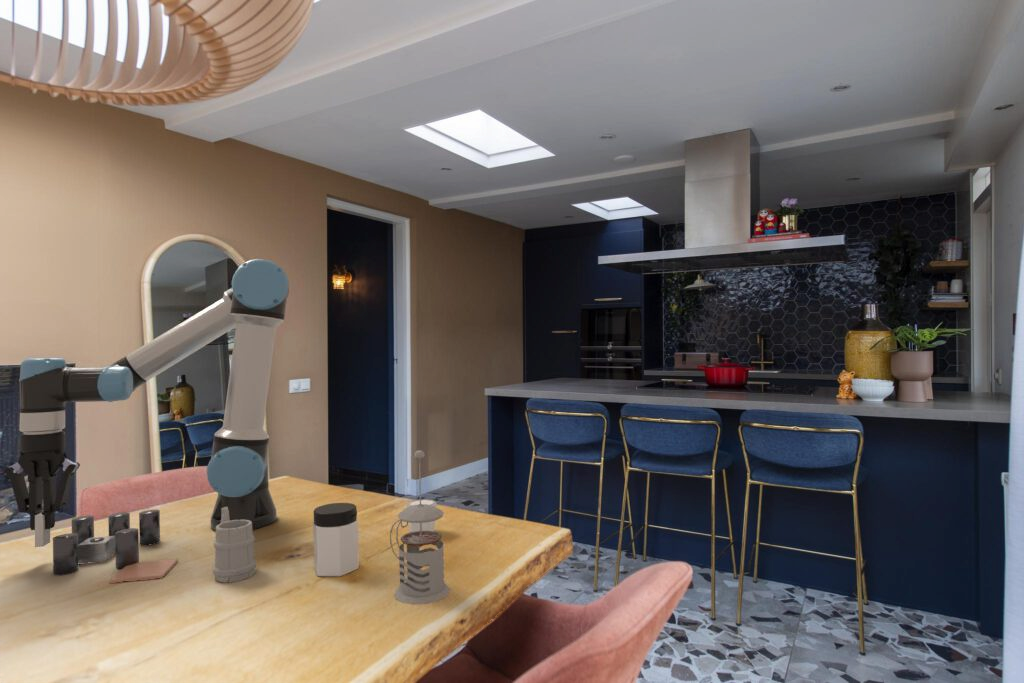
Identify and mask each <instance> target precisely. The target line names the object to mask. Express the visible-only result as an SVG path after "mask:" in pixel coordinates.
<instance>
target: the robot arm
mask: <svg viewBox="0 0 1024 683" xmlns="http://www.w3.org/2000/svg"><path fill="white" fill-rule="evenodd" d="M231 279H232V280H231V287H230V288H228V289H227V290H225V291H224V292H223V296H222V298H220V299H218V300H217V301H215V302H214V303H212V304H211V305H209V306H207V307H205V308H204V309H202V310H200V311H199V312H197V313H195V314H193V315H192V316H191V317H189V318H187V319H185V320H184V321H183V322H180V323H179V324H177V325H176V326H174V327H172V328H171V329H169V330H166V331H165V332H163V333H162V334H160V335H159V336H157V337H155V338H154V339H152V340H150V341H148V342H147V343H146V344H144V345H141V347H138V348H137V349H135V350H133V351H132V352H130V353H129V354H127V355H126V356H124V357H121V358H120V359H118V360H117V361H115V362H113V363H112V364H110V365H107V366H105V365H102V366H80V367H79V366H78V367H77V366H75V367H74V366H67V363H66V360H65V359H64V358H63V357H62V358H61V357H59V358H58V357H49V358H48V357H47V358H45V357H44V358H43V357H41V358H39V357H37V358H36V357H35V358H26V359H24V360H23V361H22V362H21V363H20V371H19V380H18V382H19V428H18V429H19V431H20V432H21V434H20V435H19V452H20V453H19V456H18V458H17V462H15V463H14V464H12V465H9V466H8V467H4V469H3V470H4V473H5V474H6V476H7V477H8V478H9V480H10V484H11V488H12V491H13V494H14V497H15V501H16V505H17V508H18V511H19V513H24V514H25V513H26V514H28V515H29V520H30V521H29V528H30V530H31V531H34V548H43V547H45V546H47V545H49V544H50V543H51V529H52V528H54V527H55V526H56V512H57V511H59V510H62V509H64V508H65V507H66V506H67V503H68V499H69V495H70V491H71V487H72V484H73V480H74V477H75V473H76V472H77V471H78V469H79V468H80V466H81V464H80V463H79V462H73V461H71V460H70V459H68V455H67V454H66V453H67V452H66V432H65V431H64V430H63V429H65V428H66V403H80V402H81V403H84V402H85V403H86V402H87V403H89V402H90V403H91V402H93V403H97V402H108V403H114V402H118V401H120V402H121V401H127V400H129V399H130V397H131V396H132V394H133V392H135V391H136V389H137V388H139V387H140V386H142V385H143V384H146V383H147V382H149V381H150V380H151V379H153V378H155V377H156V376H158V375H160V374H161V373H163V372H164V371H166V370H168V369H169V368H171V367H173V366H174V365H176V364H178V363H179V362H181V361H182V360H184V359H186V358H187V357H189V356H190V355H192V354H194V353H196V352H197V351H198V350H201V349H202V348H204V347H205V346H206V345H209V344H210V343H212V342H213V341H215V340H216V339H218V338H219V337H221V336H223V335H225V334H226V333H228V332H229V331H231V330H233V329H234V328H235V332H234V340H233V346H232V347H233V348H232V354H231V361H230V370H229V376H228V383H227V384H228V386H227V393H226V400H225V407H224V415H223V421H222V422H223V424H222V426H221V428H219V429H218V430H217V431H216V432H215V433H214V435H213V442H212V448H211V449H212V450H211V457H210V459H209V461H208V464H207V466H206V477H207V482H208V483H209V485H210V487H211V488H212V489H213V491H215V492H216V493H217V499H216V502H215V503H214V506H213V510H212V512H211V515H210V529H211V530H213V531H215V532H216V526H217V525H219V524H220V522H221V514H222V512H221V508H224V507H228V510H229V518H230V521H232V520H250V521H251V522H252V530H255V529H259V528H263V527H266V526H268V525H271V524H273V523H274V522H276V521H277V517H278V516H277V508H276V505H275V503H274V500H273V497H272V495H271V492H270V489H269V488H270V487H269V485H270V484H269V443H270V442H269V441H270V436H269V434H268V433H267V432H266V431H265V429H264V425H265V417H266V410H267V402H268V394H269V386H270V380H271V372H272V363H273V354H274V347H275V340H276V331H277V328H278V327H279V326H280V325H281V324H283V323H284V322H285V314H286V307H287V300H288V296H289V292H290V290H289V288H290V284H289V283H290V282H289V277H288V275H287V274H286V271H285V270H284V269H283V268H282V267H281V266H280V265H278V264H277V263H276V262H275V263H274V262H273V261H271V260H268V259H262V258H256V259H255V258H254V259H250V260H247V261H246V262H244V263H242V264H240V265H239V266H238V268H237V269H236V270H235V272H234V274H233V276H232V278H231ZM61 468H62V471H63V473H62V475H61V478H60V482H59V486H58V489H57V479H58V472H60V469H61ZM23 471H24V472H25V473H26V475H27V482H28V486H27V483H26V479H25V476H24V473H23Z"/></svg>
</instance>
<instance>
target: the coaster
mask: <svg viewBox="0 0 1024 683" xmlns="http://www.w3.org/2000/svg"><path fill="white" fill-rule="evenodd" d="M177 563H179V560H178V558H173V559H172V558H171V559H162V560H151V561H139V563H135V564H132V565H128V566H126V567H124V568H123V569H120V571H119V572H118V573H115V575H114V576H113V577H112V578H110V579H109V584H117V583H116V582H120V583H124V582H123V581H130V582H138V581H137V580H140V581H146V580H147V581H148V579H150V580H156V579H155V578H160V579H163V578H164V577H165V576H166V575H167V574H168V573H169V572H170V571H171V570H172V569H173V568H174V566H175V565H176V564H177ZM169 570H170V571H169ZM168 571H169V572H168ZM166 573H167V574H166ZM165 574H166V575H165ZM163 576H164V577H163Z"/></svg>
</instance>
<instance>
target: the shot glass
mask: <svg viewBox="0 0 1024 683" xmlns="http://www.w3.org/2000/svg"><path fill="white" fill-rule="evenodd" d="M418 504H420V499H416V500H411V501H409V502H407V503H406V508H408V507H411V506H413V505H418ZM421 504H427V505H431V506H435V507H436V508H437V501H436V500H433V499H421ZM408 526H409V533H410V532H415V531H420V523H410V522H408ZM435 527H436V520H435V521H432V522H426V523H422V531H432V532H433V531H435ZM435 532H436V531H435Z"/></svg>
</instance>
